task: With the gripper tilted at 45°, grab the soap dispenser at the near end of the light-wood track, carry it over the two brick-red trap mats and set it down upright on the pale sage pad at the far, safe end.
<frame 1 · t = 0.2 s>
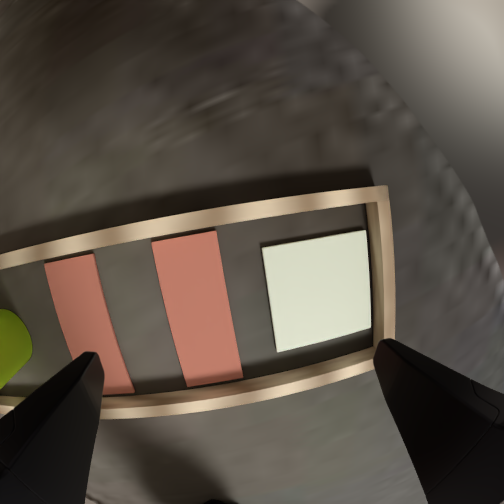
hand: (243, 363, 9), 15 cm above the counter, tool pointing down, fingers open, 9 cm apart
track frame: (140, 324, 23), on the counter
trap mats: (140, 324, 23), resting in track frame
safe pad: (322, 291, 25), resting in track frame
soap dispenser: (8, 338, 22), resting in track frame
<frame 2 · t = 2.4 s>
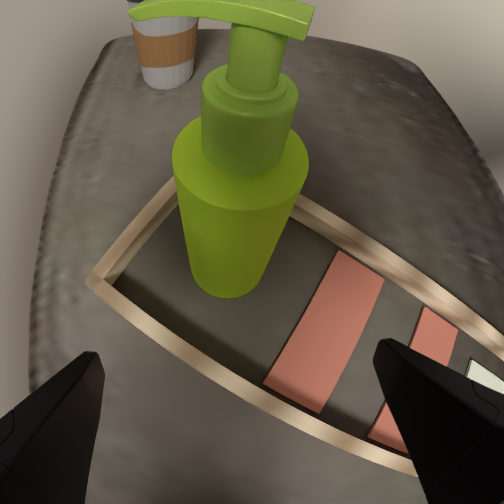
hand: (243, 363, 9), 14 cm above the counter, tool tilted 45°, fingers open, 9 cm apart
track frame: (378, 357, 23), on the counter
trap mats: (378, 357, 23), resting in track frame
coffee cup: (168, 78, 33), on the counter
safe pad: (480, 414, 21), resting in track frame
soap dispenser: (221, 262, 25), resting in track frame
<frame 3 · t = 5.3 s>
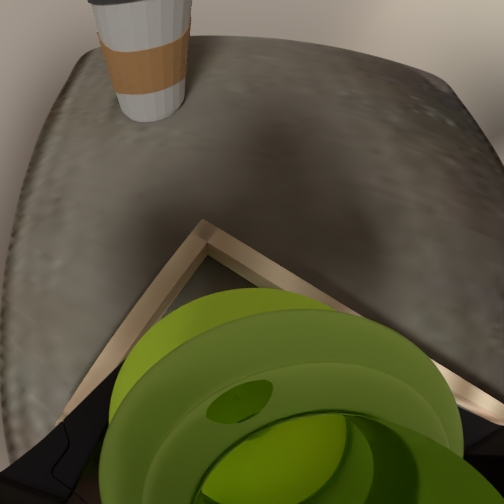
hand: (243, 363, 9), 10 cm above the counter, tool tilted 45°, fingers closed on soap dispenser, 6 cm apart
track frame: (409, 477, 15), on the counter
coffee cup: (152, 104, 26), on the counter
soap dispenser: (228, 394, 17), resting in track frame, touching gripper
when the fingers open (11 cm above the counter, at t = 10.7 s): soap dispenser stays where it is, resting on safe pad.
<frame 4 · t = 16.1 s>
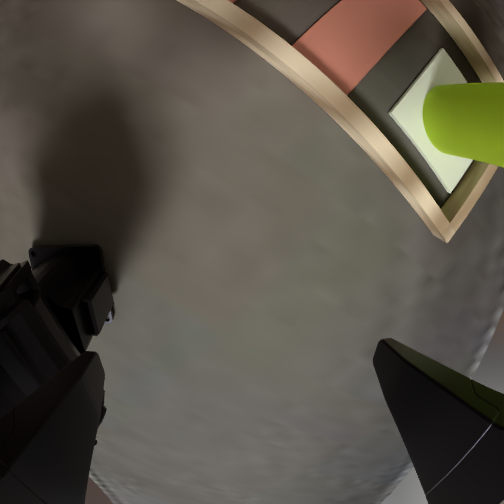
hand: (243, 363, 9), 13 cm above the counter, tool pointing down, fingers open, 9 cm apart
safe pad: (449, 119, 19), resting in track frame
soap dispenser: (446, 113, 19), resting on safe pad
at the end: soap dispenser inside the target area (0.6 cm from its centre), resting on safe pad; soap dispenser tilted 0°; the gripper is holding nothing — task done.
